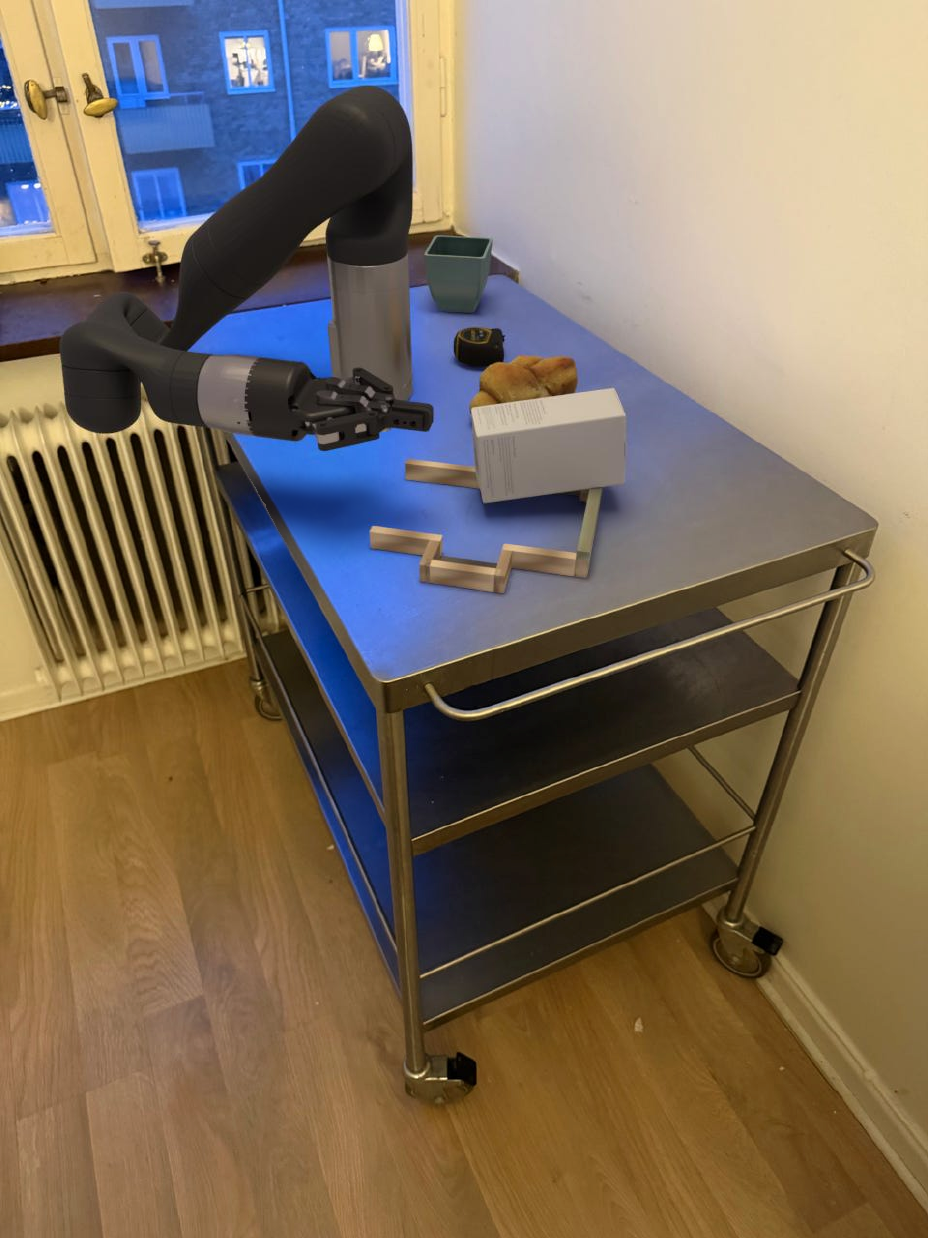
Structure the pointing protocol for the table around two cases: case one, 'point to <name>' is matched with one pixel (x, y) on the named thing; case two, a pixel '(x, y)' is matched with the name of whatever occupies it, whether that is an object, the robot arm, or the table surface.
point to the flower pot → (458, 271)
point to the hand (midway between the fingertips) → (431, 418)
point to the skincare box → (549, 445)
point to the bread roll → (526, 380)
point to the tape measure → (479, 346)
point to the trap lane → (511, 556)
